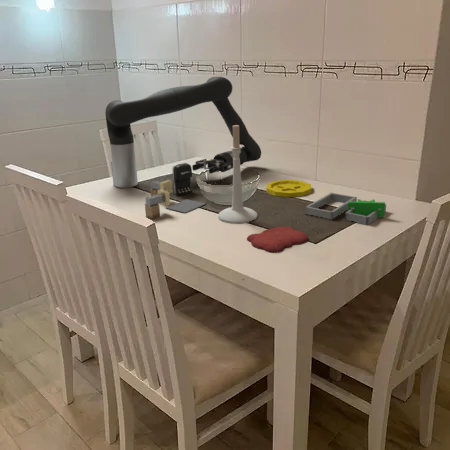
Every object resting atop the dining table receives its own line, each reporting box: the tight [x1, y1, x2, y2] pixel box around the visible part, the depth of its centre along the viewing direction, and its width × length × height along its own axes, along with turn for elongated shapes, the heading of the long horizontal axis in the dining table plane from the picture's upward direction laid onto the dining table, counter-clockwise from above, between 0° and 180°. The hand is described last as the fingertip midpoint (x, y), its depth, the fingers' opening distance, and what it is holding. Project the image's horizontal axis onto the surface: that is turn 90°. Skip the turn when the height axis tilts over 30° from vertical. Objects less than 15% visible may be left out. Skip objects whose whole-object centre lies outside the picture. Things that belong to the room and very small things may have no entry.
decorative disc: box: [265, 179, 313, 198], centre depth 182 cm, size 17×18×2 cm
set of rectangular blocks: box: [144, 179, 174, 220], centre depth 166 cm, size 8×23×8 cm, turn 2°
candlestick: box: [217, 125, 258, 225], centre depth 151 cm, size 13×13×30 cm
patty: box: [246, 226, 309, 254], centre depth 138 cm, size 18×14×2 cm
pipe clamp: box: [347, 198, 386, 218], centre depth 153 cm, size 11×4×5 cm, turn 76°
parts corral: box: [304, 192, 387, 226], centre depth 157 cm, size 21×19×2 cm
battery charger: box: [172, 162, 193, 196], centre depth 180 cm, size 7×4×11 cm, turn 126°
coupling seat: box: [165, 199, 207, 214], centre depth 167 cm, size 9×11×1 cm
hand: (201, 169), depth 187 cm, fingers open, 8 cm apart
